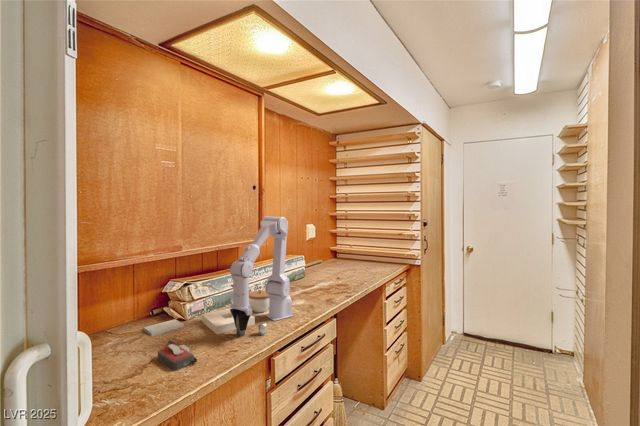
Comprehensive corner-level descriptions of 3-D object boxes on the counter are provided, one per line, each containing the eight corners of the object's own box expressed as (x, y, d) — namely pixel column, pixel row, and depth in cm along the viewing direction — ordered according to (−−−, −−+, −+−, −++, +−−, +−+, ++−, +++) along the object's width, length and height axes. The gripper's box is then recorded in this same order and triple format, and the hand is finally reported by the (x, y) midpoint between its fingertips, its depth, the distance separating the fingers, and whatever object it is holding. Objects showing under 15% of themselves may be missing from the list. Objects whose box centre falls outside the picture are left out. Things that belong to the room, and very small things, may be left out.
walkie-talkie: (203, 362, 100) (172, 343, 113) (203, 348, 100) (172, 331, 112) (176, 374, 93) (145, 353, 106) (176, 359, 93) (145, 339, 106)
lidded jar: (243, 312, 144) (243, 292, 144) (255, 305, 154) (255, 286, 154) (265, 315, 141) (265, 294, 140) (275, 307, 151) (275, 288, 151)
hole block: (237, 313, 143) (237, 306, 143) (254, 324, 130) (254, 317, 130) (201, 321, 133) (201, 314, 132) (216, 334, 120) (216, 326, 120)
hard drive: (151, 333, 118) (184, 323, 127) (142, 327, 123) (174, 318, 133) (151, 337, 118) (184, 327, 127) (142, 331, 123) (174, 322, 133)
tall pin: (242, 332, 122) (242, 311, 122) (246, 335, 120) (246, 314, 119) (234, 334, 120) (234, 313, 120) (238, 337, 118) (238, 316, 117)
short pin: (264, 331, 124) (264, 321, 123) (268, 334, 121) (268, 323, 121) (256, 333, 121) (256, 323, 121) (260, 336, 119) (260, 325, 119)
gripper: (222, 290, 122) (222, 325, 123) (239, 299, 111) (239, 338, 112) (240, 287, 127) (239, 321, 127) (257, 296, 116) (257, 333, 116)
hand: (240, 328), depth 120 cm, fingers closed on tall pin, 3 cm apart
